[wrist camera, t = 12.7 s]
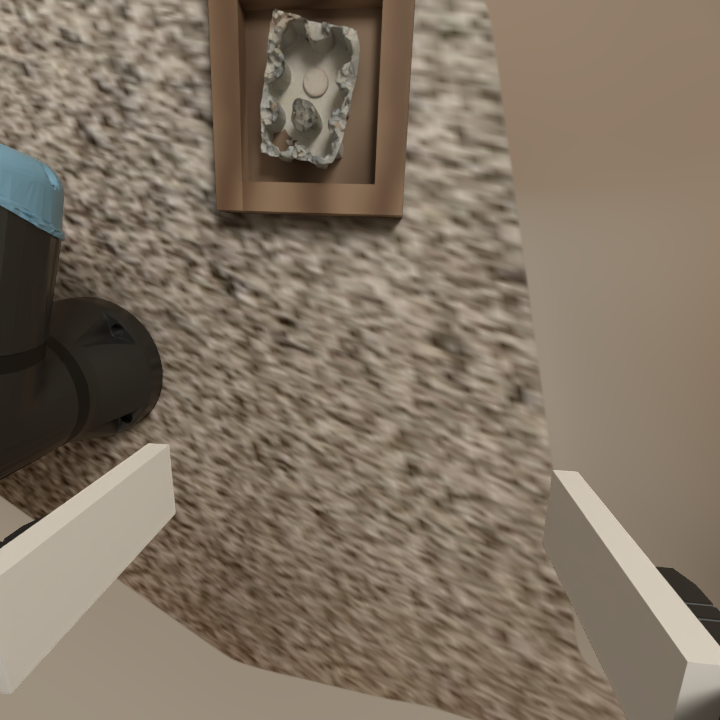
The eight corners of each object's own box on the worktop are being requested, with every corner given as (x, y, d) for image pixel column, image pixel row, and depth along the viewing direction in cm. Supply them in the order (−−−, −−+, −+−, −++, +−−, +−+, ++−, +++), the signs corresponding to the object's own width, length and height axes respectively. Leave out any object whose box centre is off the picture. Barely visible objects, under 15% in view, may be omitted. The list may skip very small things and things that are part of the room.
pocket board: (227, 212, 41) (216, 209, 38) (219, -18, 36) (206, -38, 34) (401, 218, 39) (401, 215, 37) (416, -23, 34) (417, -44, 32)
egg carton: (286, 27, 36) (271, -3, 32) (370, 47, 35) (366, 20, 31) (262, 158, 38) (245, 145, 34) (340, 178, 38) (332, 168, 34)
